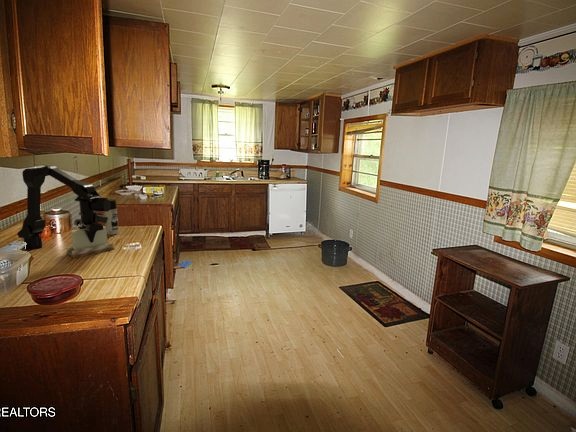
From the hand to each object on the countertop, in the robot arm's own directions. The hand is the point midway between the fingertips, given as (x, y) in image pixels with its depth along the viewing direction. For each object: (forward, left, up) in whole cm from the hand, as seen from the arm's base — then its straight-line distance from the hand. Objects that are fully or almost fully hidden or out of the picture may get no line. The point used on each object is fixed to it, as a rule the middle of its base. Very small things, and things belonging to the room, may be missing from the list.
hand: (90, 241), depth 154 cm
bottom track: (0, 0, -5) cm, 5 cm away
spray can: (+21, +25, -5) cm, 33 cm away
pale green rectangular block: (0, 0, -2) cm, 3 cm away
